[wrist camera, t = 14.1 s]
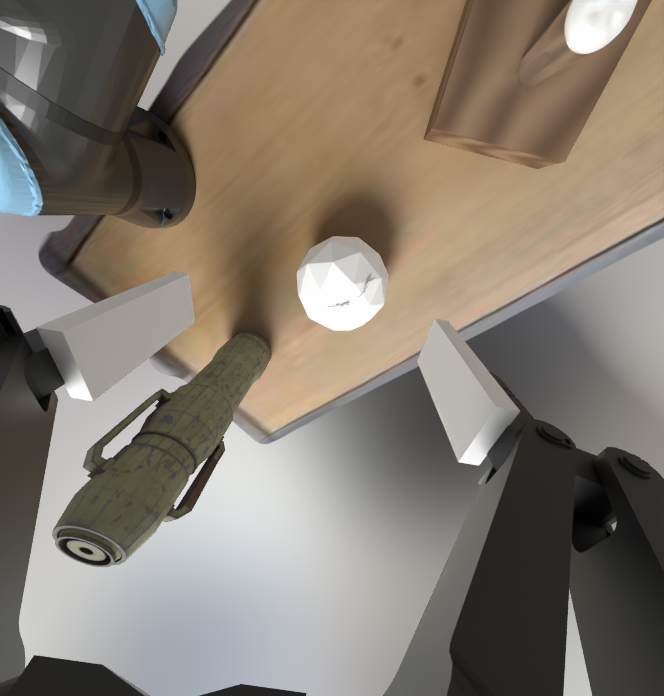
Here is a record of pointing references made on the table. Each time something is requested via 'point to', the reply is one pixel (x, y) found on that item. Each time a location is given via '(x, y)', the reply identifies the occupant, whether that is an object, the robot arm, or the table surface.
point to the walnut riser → (517, 85)
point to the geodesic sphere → (342, 283)
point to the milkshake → (574, 37)
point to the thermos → (159, 459)
